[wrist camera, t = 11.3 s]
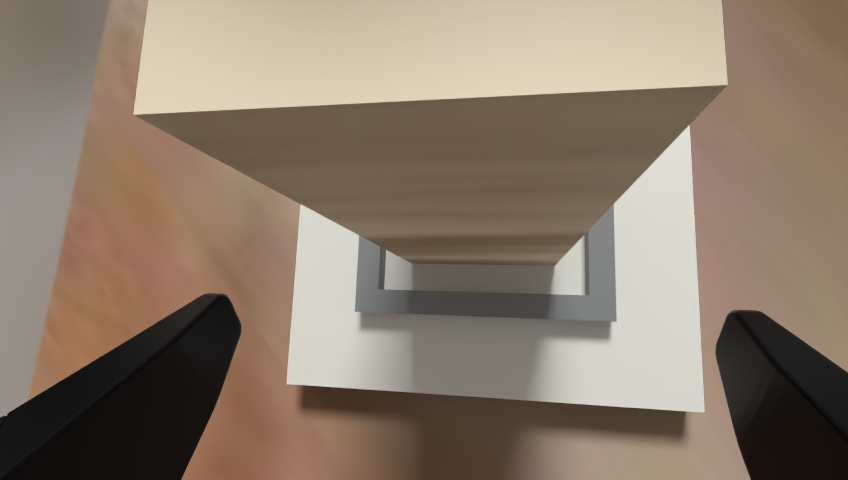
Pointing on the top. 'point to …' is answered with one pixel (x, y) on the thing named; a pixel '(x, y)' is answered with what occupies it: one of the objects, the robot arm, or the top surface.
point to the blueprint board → (515, 311)
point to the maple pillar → (436, 109)
